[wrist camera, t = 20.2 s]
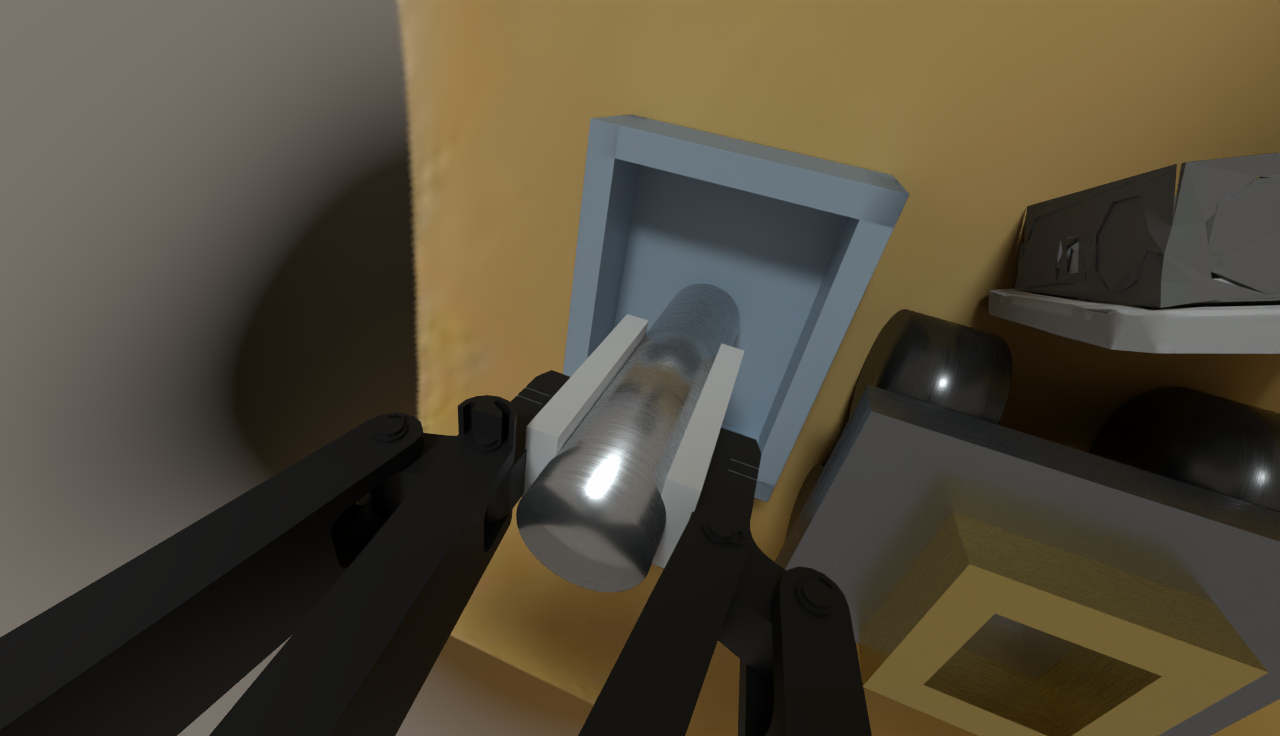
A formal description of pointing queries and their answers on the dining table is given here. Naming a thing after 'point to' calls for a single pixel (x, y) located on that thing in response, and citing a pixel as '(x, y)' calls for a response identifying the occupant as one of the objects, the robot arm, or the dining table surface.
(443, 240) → the dining table surface
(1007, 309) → the electrical switch
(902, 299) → the dining table surface
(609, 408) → the pin
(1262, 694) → the trolley
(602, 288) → the tray
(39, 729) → the robot arm
